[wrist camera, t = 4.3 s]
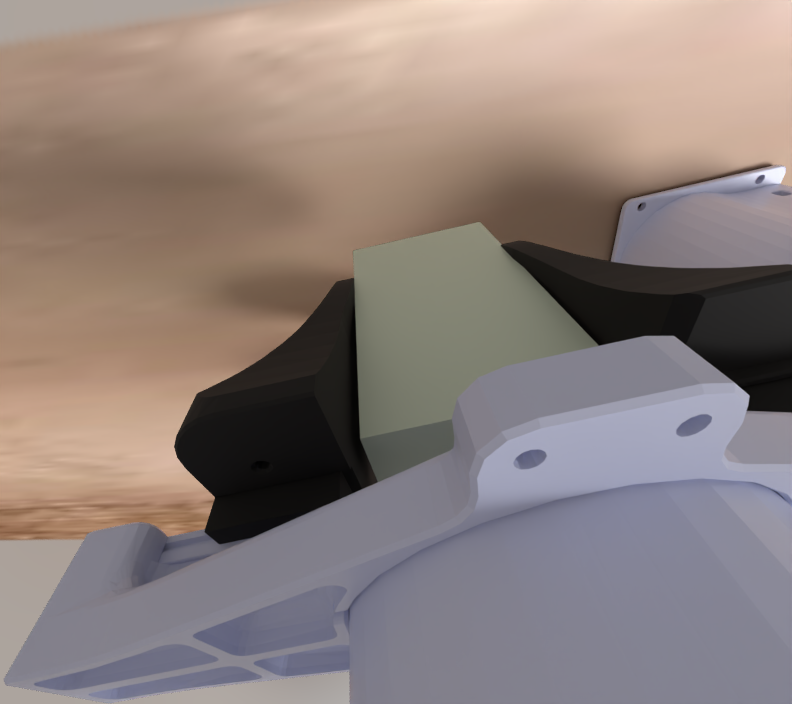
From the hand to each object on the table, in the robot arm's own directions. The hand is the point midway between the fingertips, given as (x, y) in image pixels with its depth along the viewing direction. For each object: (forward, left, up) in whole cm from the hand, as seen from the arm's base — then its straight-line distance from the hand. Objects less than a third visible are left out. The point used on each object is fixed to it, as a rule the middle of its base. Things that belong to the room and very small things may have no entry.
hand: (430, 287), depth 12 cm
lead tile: (0, 0, -2) cm, 2 cm away
